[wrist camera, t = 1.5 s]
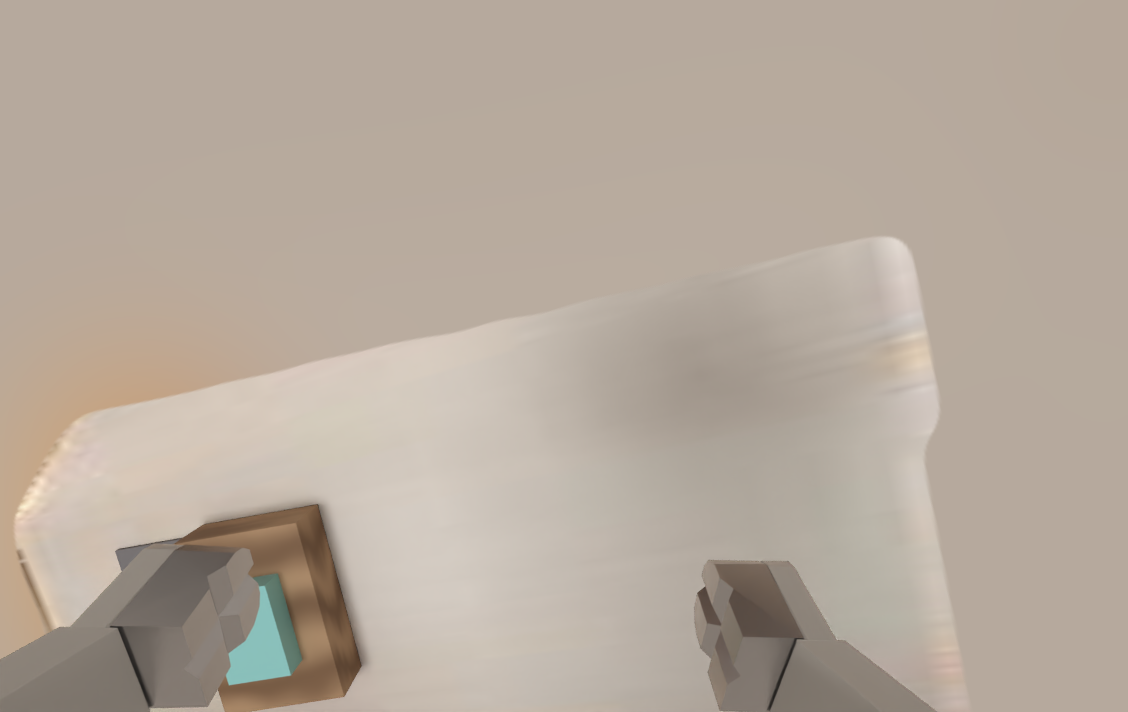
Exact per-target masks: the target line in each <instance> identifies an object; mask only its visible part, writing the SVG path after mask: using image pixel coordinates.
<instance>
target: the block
mask: <svg viewBox="0 0 1128 712" xmlns="http://www.w3.org/2000/svg"><path fill="white" fill-rule="evenodd" d="M253 579H254V580H255V581H256V582H258V586H259V591H260V607H259V610H258V614H257V617H256V620H255V624H254V626H253V628H252V630H251V632H250V633H249V635H248V637H247V639H246V641H245V642H243V643H242V644H241V645H239V646H238V647H237V648H235V649H234V650H232V651H231V652H230V653H229V658H230V664H231V667H230V669H229V671H228V672H227V674H226V678H227V681H228V684H229V685H234V684H241V683H247V682H253V681H259V680H266V679H272V678H278V677H285V676H291V675H292V673H293V672H294V671H295V669H296V668H297V667H298V665H299V664H300V662H301V661H302V657H301V653H300V650H299V646H298V643H297V639H296V636H295V632H294V629H293V625H292V622H291V618H290V615H289V611H288V608H287V604H286V601H285V597H284V594H283V590H282V587H281V583H280V580H279V576H278V573H276V574H270V575H264V576H259V577H253Z"/></svg>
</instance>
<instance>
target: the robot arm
mask: <svg viewBox="0 0 1128 712" xmlns="http://www.w3.org/2000/svg"><path fill="white" fill-rule="evenodd" d="M253 564H254V563H253V560H252V556H251V553H250V550H249V549H246V548H240V547H221V546H203V545H173V544H152V545H150V546H148V547H146V548H144V549H143V550H142V551H141V552H140V553H139V554H138V555H137V556H136V557H135V558H134V559H133V560H132V561H131V562H130V564H129V565H128V566H127V567H126V568H125V569H124V570H123V571H122V572H121V573H120V574H119V575H118V576H117V577H116V579H115V580H114V581H113V582H112V583H111V584H110V585H109V586H108V587H107V588H106V589H105V590H104V591H103V592H102V593H101V595H100V596H99V597H98V598H97V599H96V600H95V601H94V602H93V603H92V604H91V605H90V606H89V607H88V608H87V609H86V611H85V612H84V613H83V614H82V615H81V616H80V617H79V618H78V619H77V620H76V621H75V622H74V623H73V624H72V625H71V627H59V628H57V629H55V630H53V631H51V632H50V633H48V634H46V635H44V636H42V637H40V638H39V639H37V640H35V641H33V642H31V643H29V644H28V645H26V646H24V647H22V648H20V649H19V650H17V651H15V652H13V653H11V654H9V655H8V656H6V657H4V658H2V659H0V712H150V708H180V707H208V705H209V704H210V702H211V700H212V699H213V697H214V695H215V693H216V692H217V690H218V688H219V686H220V685H221V683H222V681H223V679H224V678H225V676H226V674H227V672H228V671H229V669H230V667H231V664H230V658H229V653H230V652H231V651H232V650H234V649H235V648H237V647H238V646H239V645H241V644H242V643H243V642H245V641H246V639H247V637H248V635H249V633H250V632H251V630H252V628H253V626H254V624H255V620H256V617H257V614H258V610H259V607H260V591H259V586H258V582H256V581H255V580H254V579H253V578H252V577H251V576H250V575H248V572H249V570H250V569H251V567H252V566H253ZM702 578H703V581H704V583H705V587H704V588H703V589H702V590H700V591H699V592H698V593H697V597H696V602H695V606H694V617H695V628H696V634H697V638H698V641H699V645H700V648H701V649H702V650H703V651H704V652H705V653H706V654H707V655H708V656H709V657H710V658H711V663H710V666H709V670H708V675H709V678H710V681H711V684H712V688H713V691H714V694H715V697H716V700H717V704H718V707H719V710H720V711H738V712H937V711H935V710H934V709H933V708H931V707H930V706H929V705H928V704H926V703H925V702H924V701H922V700H921V699H920V698H919V697H917V696H916V695H915V694H913V693H912V692H911V691H910V690H908V689H907V688H906V687H904V686H903V685H902V684H900V683H899V682H898V681H897V680H895V679H894V678H893V677H891V676H890V675H889V674H888V673H886V672H885V671H884V670H882V669H881V668H880V667H879V666H877V665H876V664H875V663H873V662H872V661H871V660H869V659H868V658H867V657H866V656H864V655H863V654H862V653H860V652H859V651H858V650H857V649H855V648H854V647H853V646H851V645H850V644H849V643H848V642H846V641H843V640H836V638H835V636H834V635H833V633H832V631H831V630H830V628H829V626H828V624H827V623H826V621H825V619H824V617H823V616H822V614H821V612H820V611H819V609H818V607H817V605H816V604H815V602H814V600H813V598H812V597H811V595H810V593H809V592H808V590H807V588H806V586H805V585H804V583H803V581H802V579H801V578H800V576H799V574H798V572H797V571H796V569H795V567H794V566H793V565H792V564H791V563H790V562H788V561H761V562H760V561H733V560H708V561H707V563H706V564H705V565H704V569H703V573H702Z"/></svg>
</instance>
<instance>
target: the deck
mask: <svg viewBox="0 0 1128 712" xmlns="http://www.w3.org/2000/svg"><path fill="white" fill-rule="evenodd" d="M173 545H203V546H221V547H240V548H246V549H249V550H250V553H251V556H252V560H253V563H254V564H253V566H252V567H251V569H250V570H249V572H248V575H250V576H251V577H252V578H253V577H259V576H264V575H270V574H276V573H278V576H279V580H280V583H281V587H282V590H283V594H284V597H285V601H286V604H287V608H288V611H289V615H290V618H291V622H292V625H293V629H294V632H295V636H296V639H297V643H298V646H299V650H300V653H301V657H302V661H301V662H300V664H299V665H298V667H297V668H296V669H295V671H294V672H293V673H292V675H291V676H285V677H278V678H272V679H266V680H259V681H253V682H247V683H241V684H234V685H229V684H228V681H227V678H226V676H225V678H224V679H223V681H222V683H221V685H220V686H219V688H218V691H219V694H220V697H221V701H222V704H223V707H224V710H225V712H250V711H257V710H263V709H269V708H276V707H282V706H289V705H295V704H301V703H308V702H314V701H321V700H327V699H333V698H340V697H344V696H345V694H346V693H347V691H348V689H349V687H350V686H351V684H352V682H353V680H354V679H355V677H356V675H357V673H358V671H359V670H360V668H361V663H360V659H359V656H358V652H357V648H356V645H355V641H354V637H353V634H352V630H351V626H350V623H349V619H348V615H347V611H346V608H345V604H344V600H343V597H342V593H341V589H340V586H339V582H338V578H337V575H336V571H335V567H334V563H333V560H332V556H331V552H330V549H329V545H328V541H327V538H326V534H325V530H324V527H323V523H322V519H321V515H320V512H319V508H318V504H317V505H311V506H306V507H300V508H294V509H289V510H283V511H278V512H272V513H266V514H261V515H255V516H249V517H244V518H238V519H232V520H227V521H221V522H215V523H210V524H204V525H202V526H200V527H199V528H197V529H196V530H194V531H193V532H191V533H190V534H188V535H187V536H185V537H183V538H182V539H180V540H179V541H177V542H176V543H174V544H173Z"/></svg>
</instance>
